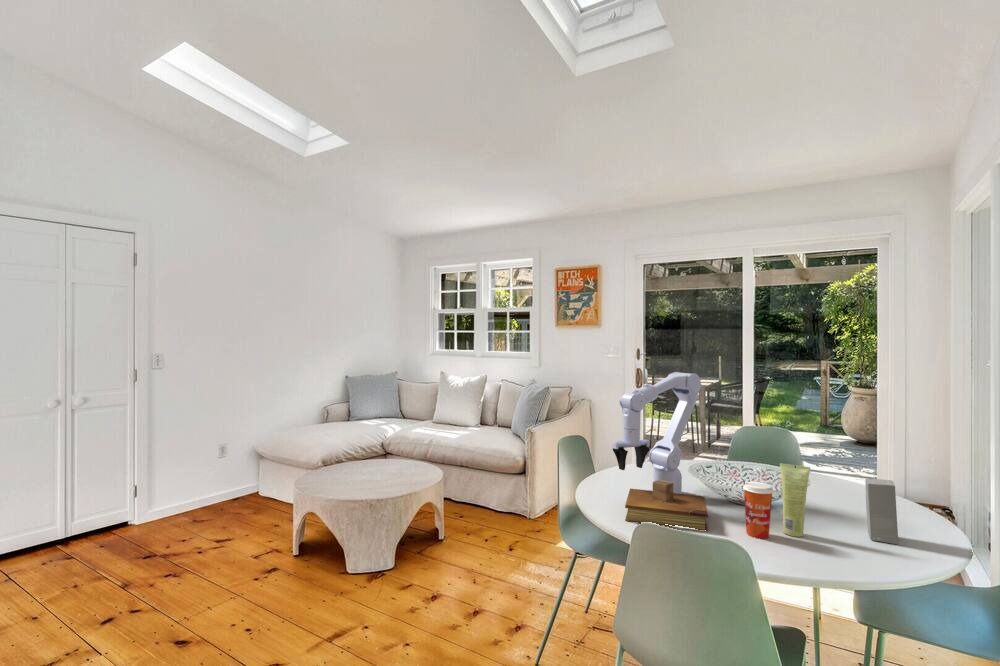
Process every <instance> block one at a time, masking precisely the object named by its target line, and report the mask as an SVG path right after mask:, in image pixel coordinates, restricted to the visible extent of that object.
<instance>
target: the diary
mask: <svg viewBox="0 0 1000 666" xmlns="http://www.w3.org/2000/svg"><path fill="white" fill-rule="evenodd" d="M649 490H650V489H637V488H629V491H628V493H627V497H626V502H625V505H624V506H625V507H624V508H625V509H627V511H626V516H625V520H624V521H627V522H628V523H633V522H638V523H637V524H641V522H652V523H656V524H659V525H664V526H663V527H665V526H669V525H672V526H675V525H678V526H683V527H689V528H695V529H698V530H706V531H708V532H709V530H708V523H707V519H706V518H709V512H708V508H707V502H706V499H705V498H706V497H705V495H695V494H687V493H686V494H685V493H683V494H678V493H673V499H671V500H668V501H666V502H665V501H662V500H658V499H654V498H653V491H649ZM627 522H626V523H627ZM665 524H668V525H665ZM672 526H671V527H670V526H669V527H668V528H673V529H674V527H672Z"/></svg>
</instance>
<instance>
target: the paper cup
mask: <svg viewBox="0 0 1000 666" xmlns="http://www.w3.org/2000/svg"><path fill="white" fill-rule="evenodd" d="M742 489H743V496H744V499H743V500H744V510H745V511H744V512H745V513H744V514H745V515H744V516H745V530H746V531H745V532H746V534H748V535H747V536H749V537H751V538H754V537H755V538H754V539H759V538H760V539H762V540H763V539H765V540H766V539H768V538H769V536H770V528H771V527H770V525H771V515H772V513H771V511H772V498H773V493H775V491H774V489H773V487H772V486H771V485H770V484H768V483H765V482H759V481H746V482H745V483H744V486H743V487H742ZM760 539H759V540H760Z"/></svg>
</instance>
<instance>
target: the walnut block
mask: <svg viewBox="0 0 1000 666" xmlns="http://www.w3.org/2000/svg"><path fill="white" fill-rule="evenodd" d="M652 489H653V498H654V499H658V500H662V501H665V502H666V501H668V500H671V499H673V482H669V481H664V480H658V481H654V482H652Z"/></svg>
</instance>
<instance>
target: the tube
mask: <svg viewBox="0 0 1000 666" xmlns="http://www.w3.org/2000/svg"><path fill="white" fill-rule="evenodd" d="M779 468H780V469H779V471H780V476H781V477H780V478H781V491H782V522H783V524H782V525H783V527H782V529H783V530H782V531H783V533H784V534H786V535H788V536H791V537H796V538H797V537H799V538H800V537H804V531H805V529H804V528H805V515H806V503H807V502H806V501H807V494H808V493H807V492H808V483H809V476H810V472H811V467H810V466H803V465H796V464H788V463H782V462H781V463H779Z"/></svg>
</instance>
